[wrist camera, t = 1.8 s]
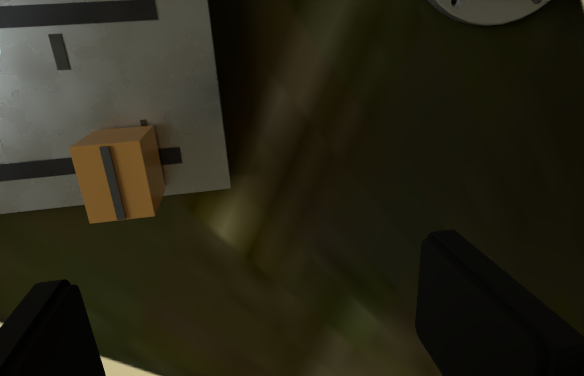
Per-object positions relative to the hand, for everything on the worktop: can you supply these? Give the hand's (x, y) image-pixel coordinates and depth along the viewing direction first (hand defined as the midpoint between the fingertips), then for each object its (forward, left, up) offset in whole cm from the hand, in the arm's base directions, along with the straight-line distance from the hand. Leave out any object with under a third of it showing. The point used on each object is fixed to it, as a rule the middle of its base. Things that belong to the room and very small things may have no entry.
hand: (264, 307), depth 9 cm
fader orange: (+7, 0, -15) cm, 16 cm away
